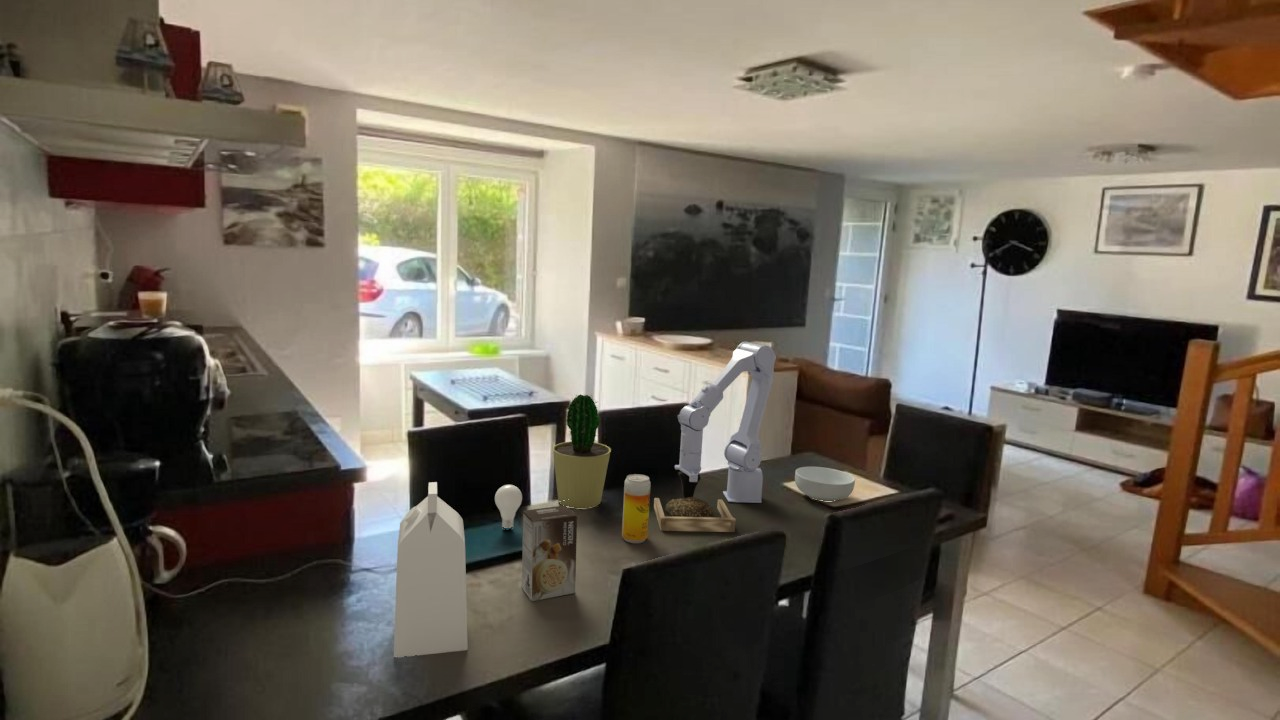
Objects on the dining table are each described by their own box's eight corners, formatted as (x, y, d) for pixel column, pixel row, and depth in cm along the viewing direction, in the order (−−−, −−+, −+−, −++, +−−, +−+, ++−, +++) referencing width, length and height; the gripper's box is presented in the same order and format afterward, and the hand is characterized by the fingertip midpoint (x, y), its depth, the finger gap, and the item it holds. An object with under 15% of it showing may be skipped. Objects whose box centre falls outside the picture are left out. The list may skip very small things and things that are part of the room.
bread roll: (672, 524, 173) (673, 505, 172) (661, 507, 185) (662, 489, 184) (720, 523, 176) (722, 505, 175) (707, 506, 188) (708, 488, 187)
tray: (721, 508, 186) (722, 497, 185) (734, 532, 170) (735, 519, 169) (653, 506, 184) (654, 495, 184) (660, 530, 168) (661, 518, 168)
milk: (467, 649, 113) (470, 498, 110) (393, 658, 110) (393, 502, 106) (464, 613, 125) (467, 475, 121) (397, 619, 121) (397, 477, 118)
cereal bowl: (860, 510, 190) (862, 485, 189) (800, 506, 191) (802, 482, 189) (843, 489, 207) (845, 467, 206) (788, 486, 207) (790, 464, 206)
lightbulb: (488, 531, 162) (489, 486, 160) (503, 522, 168) (504, 479, 166) (511, 537, 159) (513, 491, 158) (526, 527, 165) (527, 483, 164)
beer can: (647, 544, 159) (650, 482, 157) (621, 543, 159) (624, 481, 157) (647, 534, 165) (651, 474, 163) (622, 533, 165) (625, 472, 163)
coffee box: (563, 579, 140) (566, 504, 138) (575, 593, 134) (579, 515, 132) (520, 587, 136) (522, 509, 133) (530, 602, 130) (533, 521, 128)
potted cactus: (619, 500, 187) (624, 392, 183) (586, 517, 174) (591, 401, 170) (573, 488, 195) (578, 384, 191) (538, 503, 182) (542, 392, 178)
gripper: (672, 442, 191) (669, 490, 192) (679, 457, 176) (676, 508, 178) (697, 443, 191) (694, 490, 193) (706, 458, 177) (703, 509, 179)
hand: (687, 499), depth 186 cm, fingers closed
